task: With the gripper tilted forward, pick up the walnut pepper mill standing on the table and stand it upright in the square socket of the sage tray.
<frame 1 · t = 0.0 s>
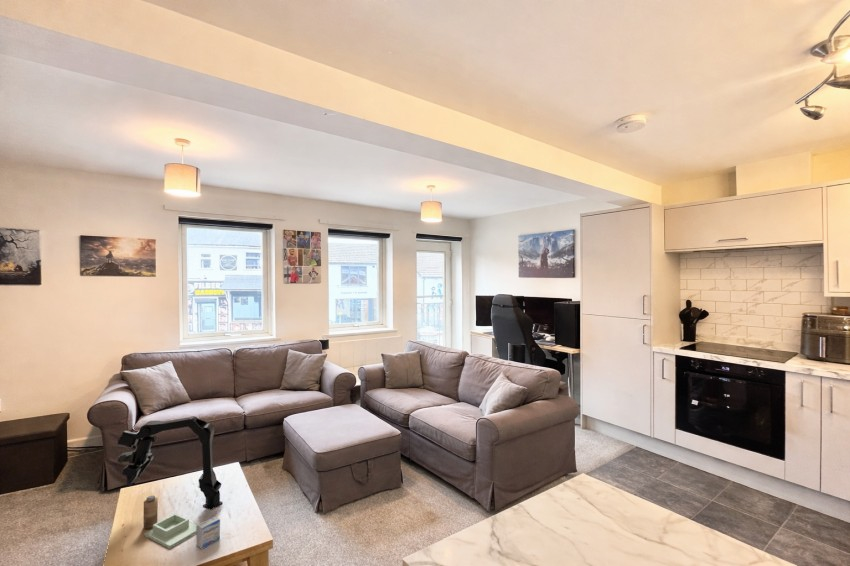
hand: (133, 481, 188), 15 cm above the table, tool pointing down, fingers open, 9 cm apart
pepper mill: (150, 526, 178), on the table
medicine box: (208, 542, 168), on the table
sage tray: (171, 531, 175), on the table
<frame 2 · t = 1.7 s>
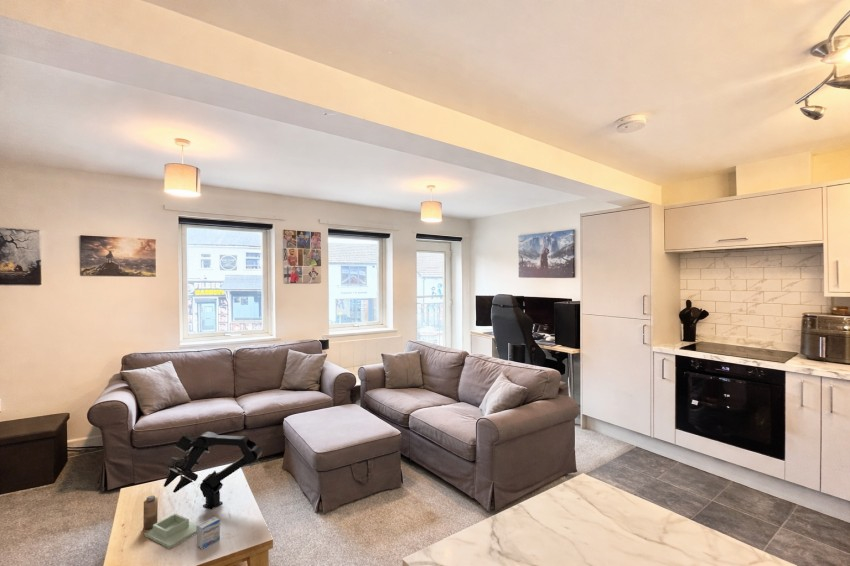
hand: (169, 489, 185), 13 cm above the table, tool tilted 45°, fingers open, 9 cm apart
nothing on the table moved.
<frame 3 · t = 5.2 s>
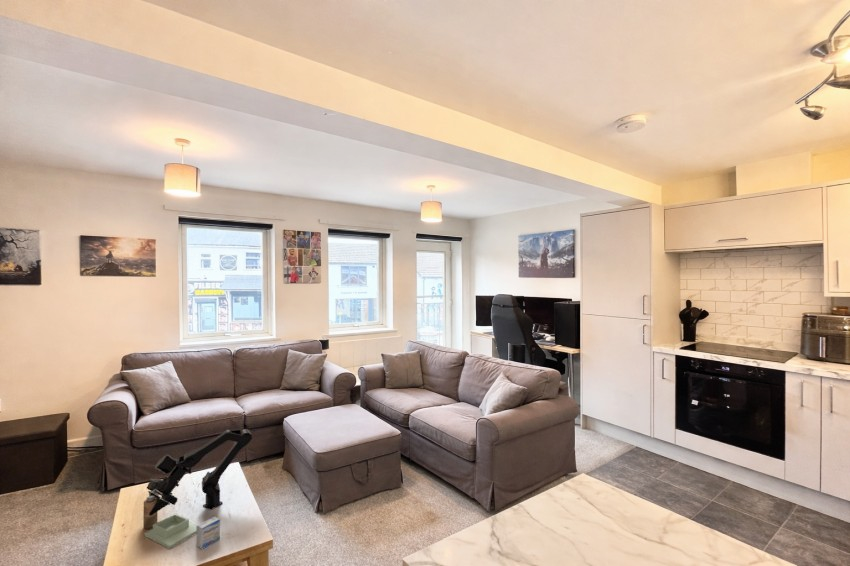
hand: (147, 513, 177), 7 cm above the table, tool tilted 45°, fingers closed on pepper mill, 5 cm apart
pepper mill: (150, 526, 178), on the table, touching gripper
everything else where it was.
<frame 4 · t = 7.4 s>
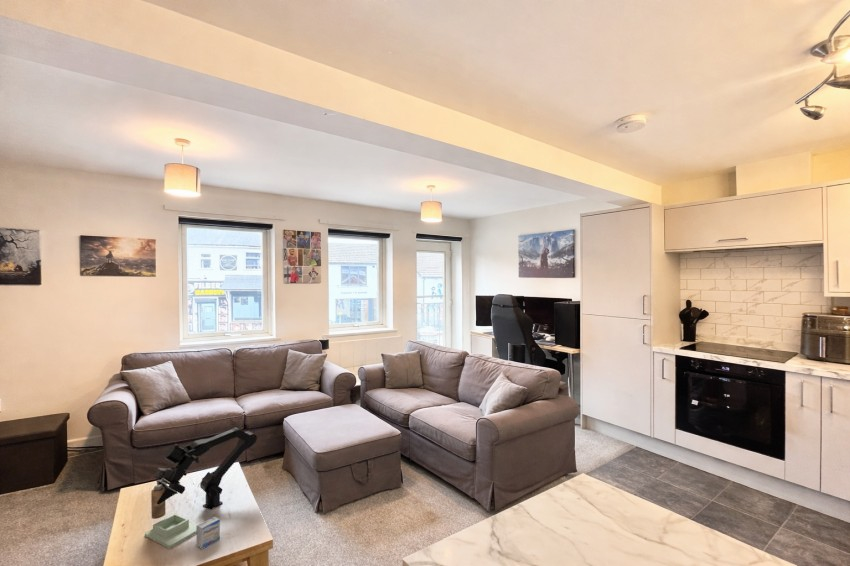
hand: (155, 502, 176), 12 cm above the table, tool tilted 45°, fingers closed on pepper mill, 5 cm apart
pepper mill: (158, 515, 177), point 6 cm above the table, touching gripper
everything else where it was.
when the fingers open (9 cm above the table, at t = 9.8 s): pepper mill drops 1 cm, resting on sage tray.
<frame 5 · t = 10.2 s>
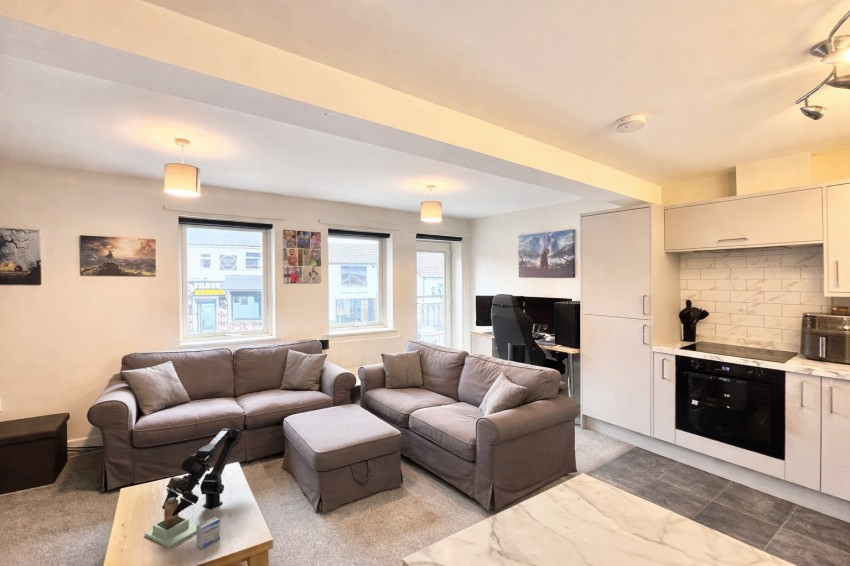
hand: (167, 512, 174), 9 cm above the table, tool tilted 45°, fingers open, 9 cm apart
pepper mill: (171, 528, 175), point 1 cm above the table, touching sage tray
everything else where it was.
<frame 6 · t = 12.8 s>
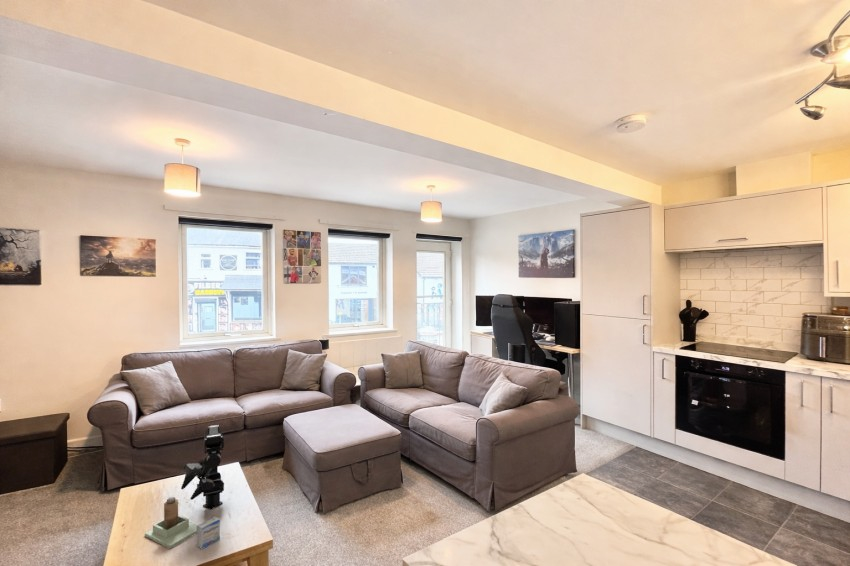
hand: (186, 494, 183), 12 cm above the table, tool tilted 35°, fingers open, 9 cm apart
nothing on the table moved.
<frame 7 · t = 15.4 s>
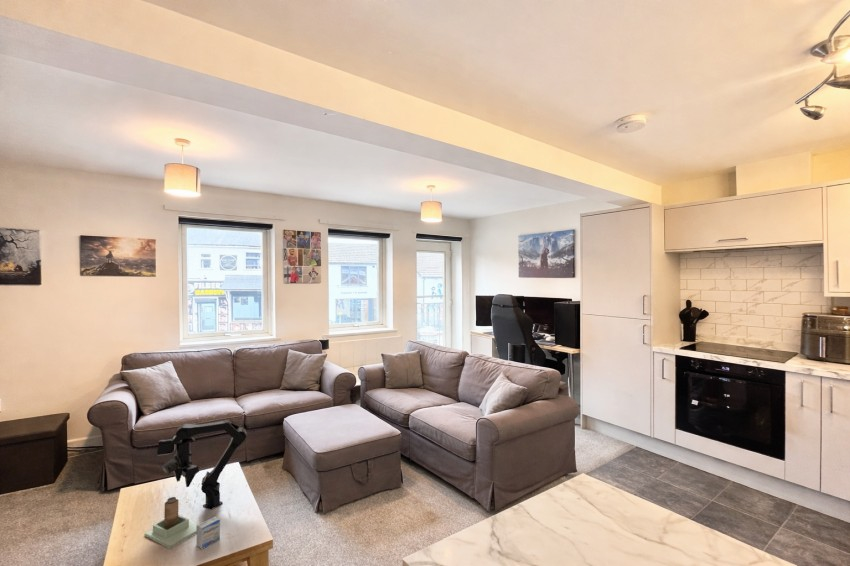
hand: (182, 484, 190), 13 cm above the table, tool pointing down, fingers open, 9 cm apart
nothing on the table moved.
at the end: pepper mill 0.1 cm from the target spot, point 1.3 cm above the table; pepper mill tilted 2°; the gripper is holding nothing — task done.
